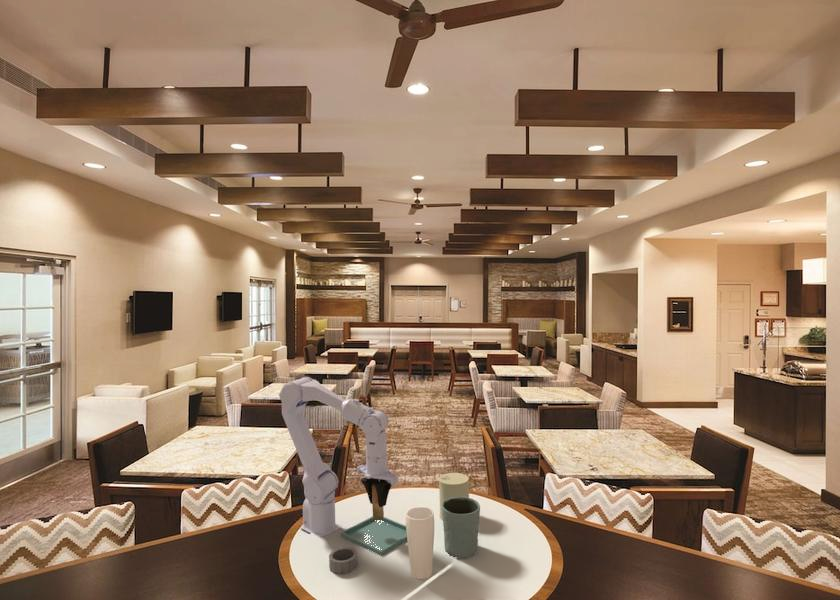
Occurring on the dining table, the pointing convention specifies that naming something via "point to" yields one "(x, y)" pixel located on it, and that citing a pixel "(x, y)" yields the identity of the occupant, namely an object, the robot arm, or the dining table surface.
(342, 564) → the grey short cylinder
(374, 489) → the pin
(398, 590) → the dining table surface
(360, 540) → the tray
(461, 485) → the can
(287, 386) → the robot arm
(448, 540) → the green cup
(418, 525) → the drinking glass
